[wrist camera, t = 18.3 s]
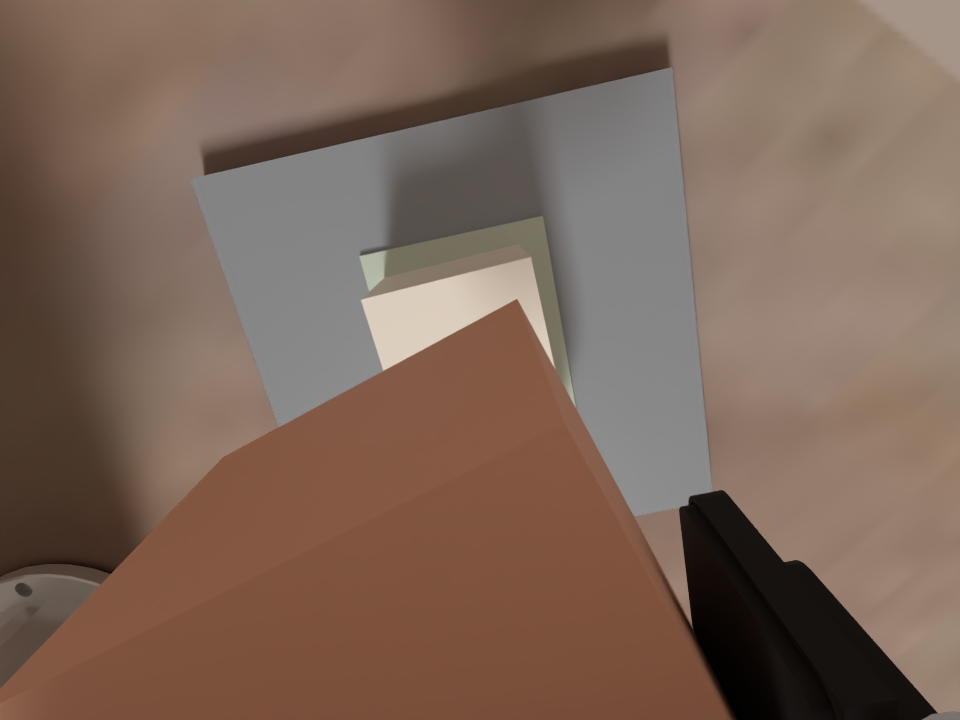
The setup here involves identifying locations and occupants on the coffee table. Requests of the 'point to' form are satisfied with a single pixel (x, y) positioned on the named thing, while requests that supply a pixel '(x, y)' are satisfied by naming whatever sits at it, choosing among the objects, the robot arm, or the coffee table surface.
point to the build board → (482, 228)
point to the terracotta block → (392, 570)
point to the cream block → (450, 301)
